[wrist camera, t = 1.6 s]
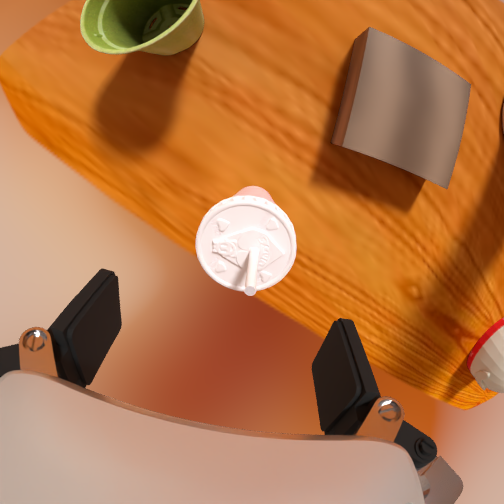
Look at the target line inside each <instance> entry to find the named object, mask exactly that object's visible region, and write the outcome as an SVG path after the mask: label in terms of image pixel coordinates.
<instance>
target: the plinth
mask: <svg viewBox="0 0 504 504" xmlns="http://www.w3.org/2000/svg"><path fill="white" fill-rule="evenodd" d="M470 88H471V84H470V83H468V82H467V81H466V80H464V79H463V78H462V77H460V76H459V75H457V74H456V73H454V72H453V71H451V70H450V69H448V68H447V67H445V66H444V65H442V64H441V63H439V62H437V61H436V60H434V59H432V58H431V57H429V56H427V55H426V54H424V53H422V52H420V51H419V50H417V49H415V48H413V47H411V46H409V45H407V44H406V43H404V42H402V41H400V40H398V39H395V38H393V37H391V36H389V35H387V34H385V33H383V32H380V31H378V30H376V29H373V28H371V27H369V28H367V29H366V30H365V31H364V32H363V33H362V34H361V35H359V36H358V37H357V38H356V39H355V42H354V47H353V52H352V57H351V62H350V66H349V71H348V75H347V80H346V84H345V88H344V92H343V97H342V101H341V105H340V109H339V113H338V117H337V121H336V125H335V129H334V133H333V137H332V140H331V143H332V144H335V145H338V146H342V147H345V148H348V149H351V150H354V151H357V152H359V153H362V154H365V155H368V156H371V157H373V158H376V159H379V160H381V161H384V162H386V163H389V164H391V165H394V166H396V167H399V168H401V169H404V170H406V171H408V172H411V173H413V174H415V175H418V176H420V177H422V178H424V179H426V180H429V181H431V182H433V183H435V184H437V185H439V186H441V187H444V188H446V189H448V185H449V182H450V179H451V176H452V172H453V169H454V165H455V162H456V158H457V154H458V151H459V147H460V142H461V138H462V134H463V129H464V124H465V119H466V114H467V108H468V102H469V95H470Z"/></svg>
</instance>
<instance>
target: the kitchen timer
mask: <svg viewBox="0 0 504 504" xmlns="http://www.w3.org/2000/svg"><path fill="white" fill-rule="evenodd" d="M467 367H468V369H469V370H470V372H471V374H472V375H473V376H474V377H475V379H476V381H477V382H478V384H479V385H480V386H481V388H482V389H483V390H485V389H486V388H488V389H490V390H492V391H495V392H499V393H504V318H502V319H500V320H499V321H498V322H496V323H495V324H494V325H493V326H491V327H490V328H489V329H488V330H487V331H486V332H485V333H484V335H483V336H482V337H481V338H480V339H479V340H478V342H477V343H476V345H475V346H474V347H473V349H472V351H471V353H470V355H469V357H468V360H467Z"/></svg>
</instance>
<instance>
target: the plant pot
mask: <svg viewBox="0 0 504 504" xmlns="http://www.w3.org/2000/svg"><path fill="white" fill-rule="evenodd" d="M179 7H184V8H188V9H187V10H186V11H185V10H181V9H178V8H179ZM155 18H157V20H156V21H155V23H154V24H153V26H152V27H151V29H150V28H149V27H150V24H151V22H152V21H153V20H154V19H155ZM170 25H172V26H171V27H170V28H169V26H170ZM80 27H81V33H82V36H83V38H84V40H85V41H86V43H87V44H88V45H89V46H90V47H91V48H93V49H94V50H96V51H99V52H102V53H106V54H127V53H131V52H135V51H143V52H148V53H153V54H158V55H173V54H176V53H178V52H181V51H183V50H185V49H188V48H189V47H190V46H192V45H193V44H194V43H195V42H196V41H197V40H198V38H199V37H200V35H201V33H202V31H203V28H204V17H203V12H202V8H201V4H200V0H86V2H85V4H84V7H83V11H82V15H81V20H80Z"/></svg>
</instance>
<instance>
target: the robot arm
mask: <svg viewBox="0 0 504 504" xmlns="http://www.w3.org/2000/svg"><path fill="white" fill-rule="evenodd" d="M502 119H503V132H504V105H503V117H502ZM121 323H122V322H121V312H120V300H119V286H118V277H117V276H115V273H114V272H113V271H109V270H106V269H101V270H99V272H98V273H97V274H96V275H95V276H94V277H93V278H92V279H91V280H90V281H89V282H88V283H87V285H86V286H85V287H84V288H83V289H82V290H81V291H80V293H79V294H78V295H76V296H75V298H74V299H73V300H72V301H71V302H70V303H69V305H68V306H67V307H66V308H65V309H64V310H63V312H62V313H61V314H60V315H59V316H58V318H57V319H56V320H55V321H54V323H53V324H52V325H51V326H50V327H49V329H48V330H45V329H44V328H40V327H32V328H29V329H27V330H26V331H25V332H23V333H22V335H21V337H20V339H19V344H15V345H11V346H7V347H2V348H0V504H454V503H455V501H456V500H457V499H458V497H459V496H460V494H461V492H462V490H463V482H462V480H461V478H460V477H459V476H458V475H457V474H456V473H455V472H454V470H453V469H452V468H451V467H450V466H449V465H448V464H447V463H446V461H445V460H444V459H443V458H442V457H441V456H439V457H437V456H436V455H437V447H436V444H435V443H434V441H433V440H432V439H431V438H430V437H428V436H427V435H425V434H424V433H422V432H420V431H419V430H418V429H416V428H415V427H413V426H412V425H410V424H409V423H407V422H406V421H404V420H403V419H404V409H403V407H402V406H401V404H400V403H399V402H398V401H397V400H395V399H393V398H391V397H386V396H385V397H381V396H380V393H379V390H378V387H377V384H376V381H375V378H374V375H373V373H372V370H371V367H370V364H369V361H368V359H367V356H366V353H365V351H364V348H363V345H362V343H361V340H360V338H359V335H358V332H357V330H356V327H355V325H354V322H353V321H352V320H350V319H342V318H339V319H338V321H334V322H333V324H332V326H331V328H330V330H329V332H328V334H327V336H326V338H325V340H324V342H323V344H322V346H321V348H320V350H319V351H318V353H317V356H316V357H315V359H314V361H313V363H312V373H313V380H314V386H315V392H316V399H317V406H318V412H319V418H320V426H321V430H322V431H324V432H325V435H305V434H284V433H270V432H260V431H251V430H243V429H235V428H228V427H222V426H216V425H211V424H205V423H200V422H195V421H190V420H186V419H181V418H177V417H173V416H169V415H165V414H161V413H158V412H154V411H150V410H147V409H143V408H140V407H136V406H134V405H130V404H127V403H124V402H121V401H119V400H116V399H113V398H110V397H107V396H105V395H102V394H99V393H96V392H94V391H91V390H88V389H86V388H85V387H86V385H90V384H91V382H92V381H93V379H94V377H95V375H96V373H97V371H98V369H99V367H100V365H101V364H102V362H103V360H104V358H105V356H106V354H107V353H108V351H109V349H110V347H111V345H112V344H113V342H114V340H115V338H116V337H117V335H118V333H119V331H120V329H121V325H122V324H121Z"/></svg>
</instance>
